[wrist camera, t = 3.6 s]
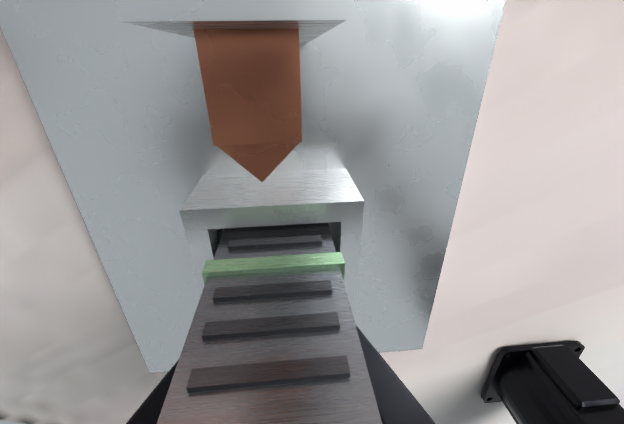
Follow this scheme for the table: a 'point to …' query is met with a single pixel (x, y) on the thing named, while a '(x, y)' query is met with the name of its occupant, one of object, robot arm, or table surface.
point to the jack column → (272, 336)
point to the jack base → (329, 177)
